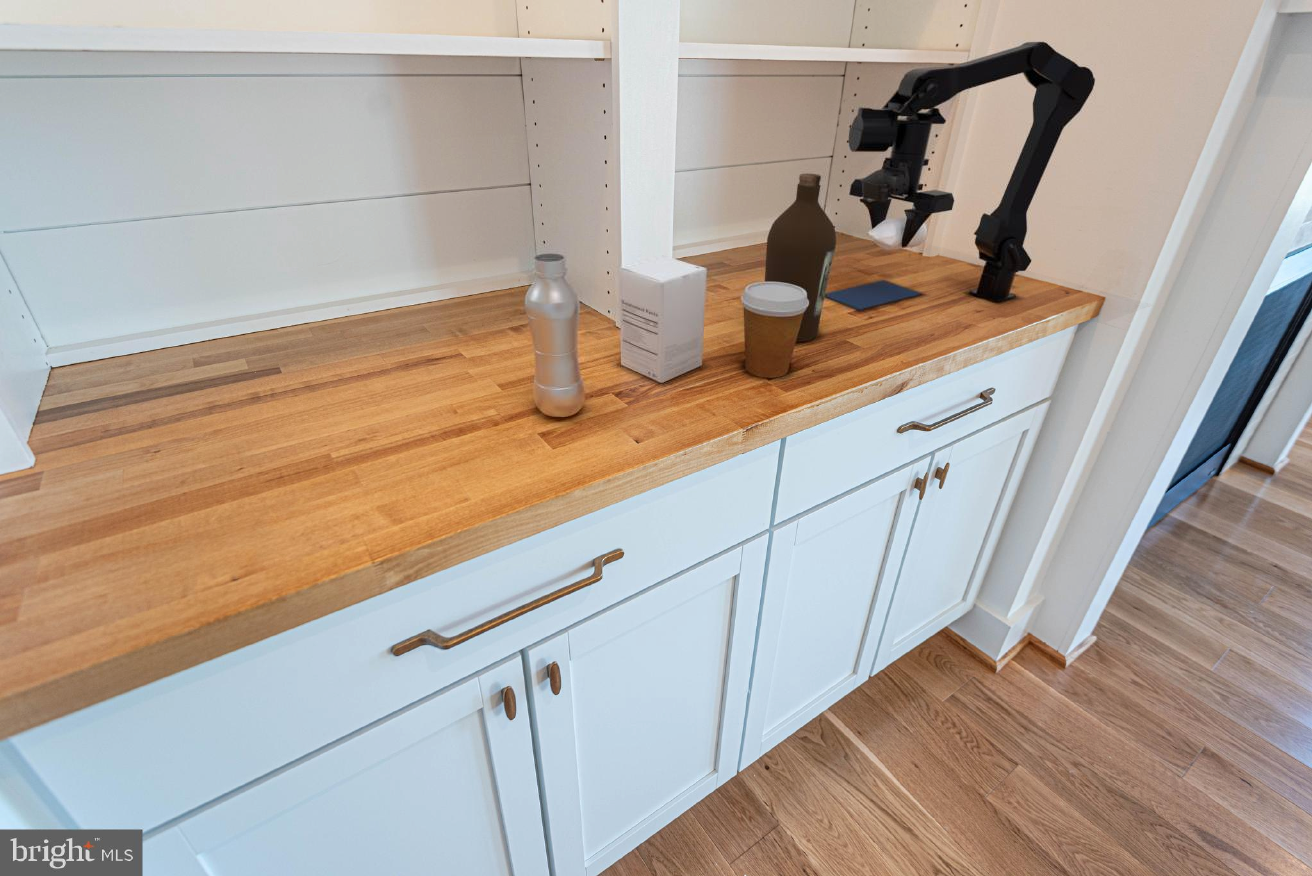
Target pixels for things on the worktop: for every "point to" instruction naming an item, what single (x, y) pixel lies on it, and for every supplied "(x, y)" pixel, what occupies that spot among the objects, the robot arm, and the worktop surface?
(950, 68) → the robot arm
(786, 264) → the olive oil
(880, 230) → the white tapered cylinder
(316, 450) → the worktop surface
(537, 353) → the plastic bottle
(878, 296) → the cloth
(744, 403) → the worktop surface
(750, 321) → the disposable coffee cup
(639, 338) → the white product box
